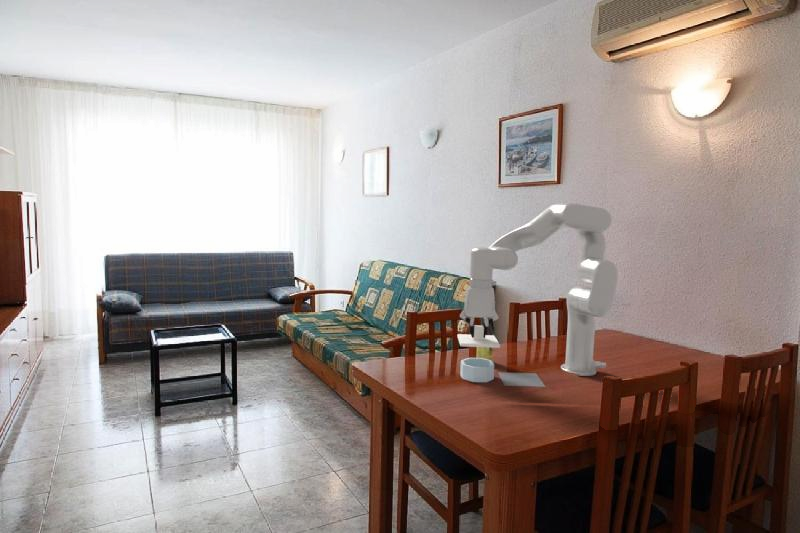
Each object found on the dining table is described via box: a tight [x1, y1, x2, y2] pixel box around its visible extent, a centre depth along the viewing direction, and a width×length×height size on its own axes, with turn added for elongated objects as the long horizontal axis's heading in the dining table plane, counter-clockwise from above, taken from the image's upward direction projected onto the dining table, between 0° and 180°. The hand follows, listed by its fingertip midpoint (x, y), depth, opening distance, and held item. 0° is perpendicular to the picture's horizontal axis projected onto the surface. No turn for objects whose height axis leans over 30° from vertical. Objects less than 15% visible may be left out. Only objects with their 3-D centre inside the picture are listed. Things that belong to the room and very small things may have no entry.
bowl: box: [459, 357, 495, 383], centre depth 183 cm, size 11×11×6 cm
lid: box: [457, 324, 501, 349], centre depth 182 cm, size 13×13×6 cm
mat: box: [497, 371, 546, 388], centre depth 182 cm, size 14×14×1 cm
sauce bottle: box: [475, 317, 495, 362], centre depth 200 cm, size 7×6×20 cm
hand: (478, 336), depth 182 cm, fingers closed on lid, 3 cm apart
